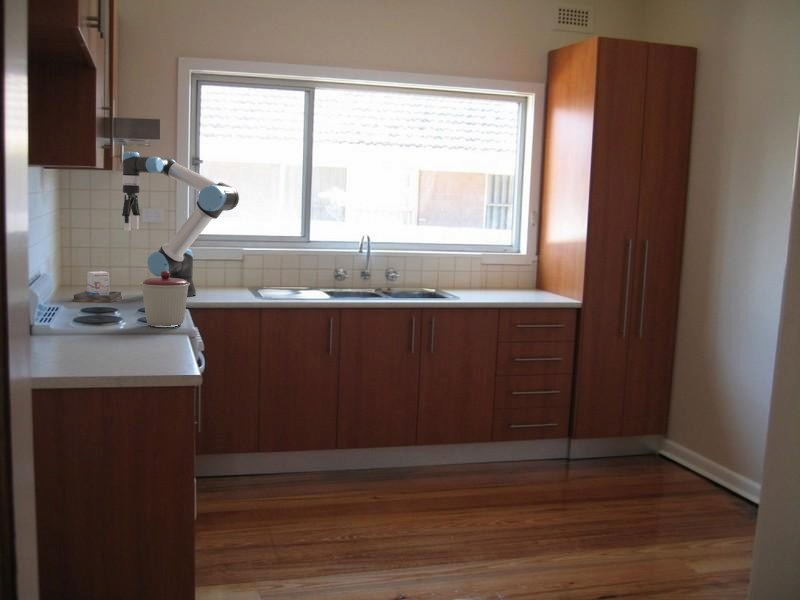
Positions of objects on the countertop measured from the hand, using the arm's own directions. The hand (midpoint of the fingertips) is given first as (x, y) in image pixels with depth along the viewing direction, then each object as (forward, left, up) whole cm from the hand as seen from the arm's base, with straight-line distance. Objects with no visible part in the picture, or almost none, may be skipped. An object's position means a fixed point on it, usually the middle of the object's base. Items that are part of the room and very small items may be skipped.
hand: (131, 229), depth 397 cm
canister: (-37, +88, -32) cm, 101 cm away
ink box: (+10, +19, -31) cm, 38 cm away
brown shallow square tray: (+10, +19, -32) cm, 38 cm away
